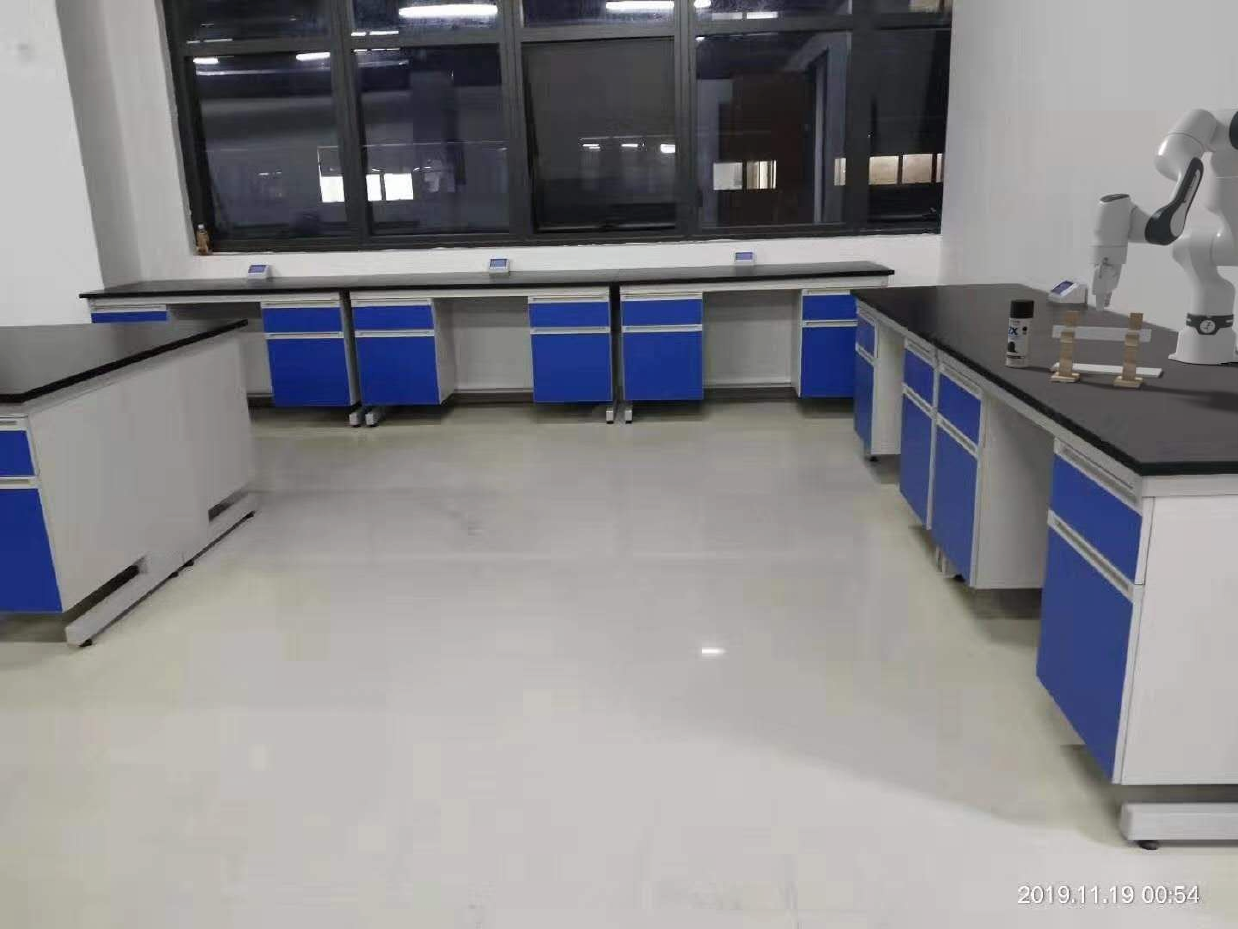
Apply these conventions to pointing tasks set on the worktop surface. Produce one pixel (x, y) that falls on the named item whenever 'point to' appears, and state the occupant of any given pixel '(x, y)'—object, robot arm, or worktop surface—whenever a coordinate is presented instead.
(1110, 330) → the steel bar
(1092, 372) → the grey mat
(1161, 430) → the worktop surface
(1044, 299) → the worktop surface
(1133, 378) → the hook post
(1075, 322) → the hook post
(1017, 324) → the spray can
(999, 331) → the worktop surface
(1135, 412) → the worktop surface
